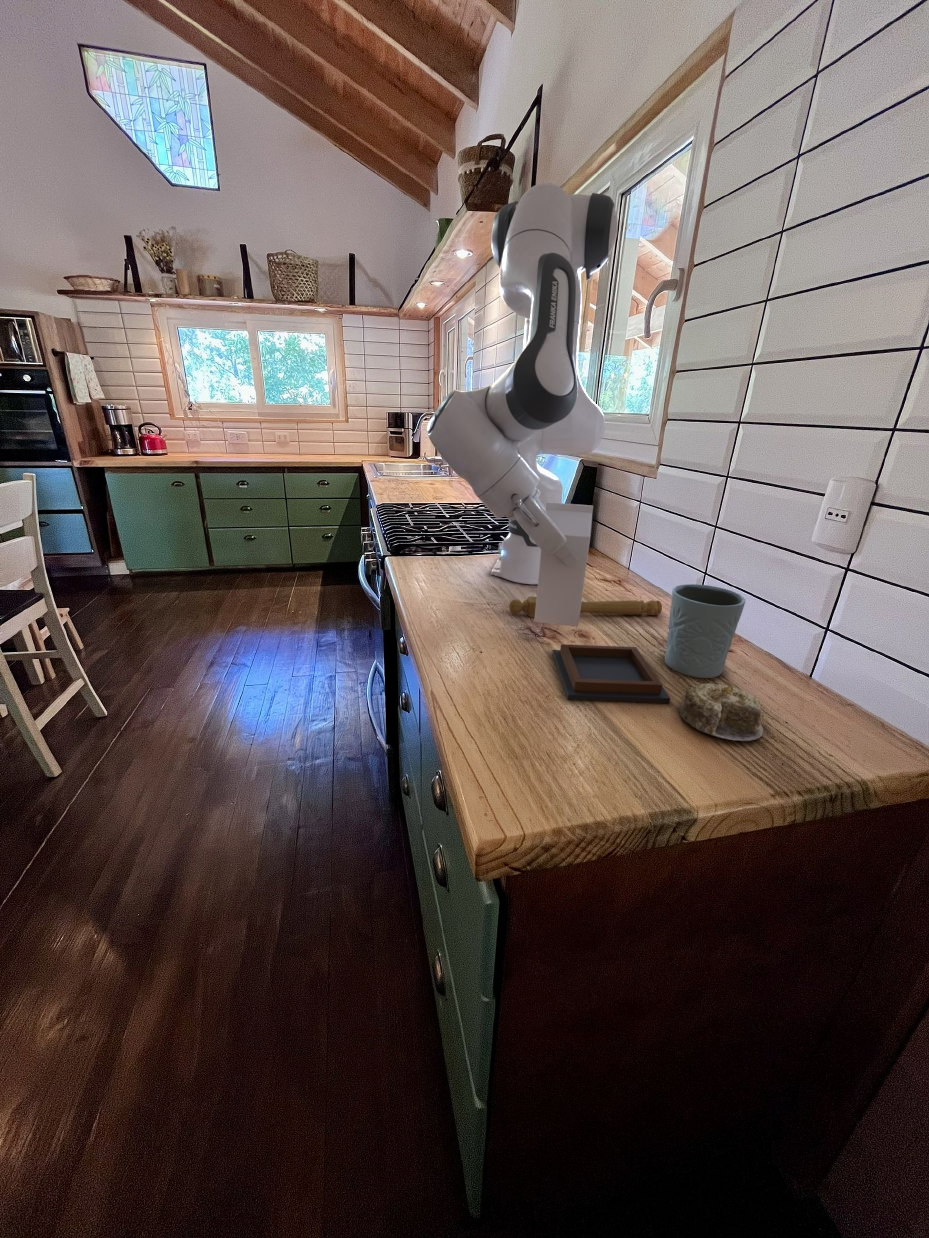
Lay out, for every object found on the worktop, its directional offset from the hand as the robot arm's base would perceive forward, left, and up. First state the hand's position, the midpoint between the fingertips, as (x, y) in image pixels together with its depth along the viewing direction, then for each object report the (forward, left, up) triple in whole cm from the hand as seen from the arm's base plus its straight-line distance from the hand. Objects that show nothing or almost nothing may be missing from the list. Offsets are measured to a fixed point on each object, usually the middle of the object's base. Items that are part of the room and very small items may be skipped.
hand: (567, 554), depth 80 cm
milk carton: (0, -1, -11) cm, 11 cm away
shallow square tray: (+12, +5, -15) cm, 20 cm away
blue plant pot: (+7, +20, -16) cm, 27 cm away
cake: (+23, +17, -16) cm, 33 cm away
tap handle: (-13, +7, -16) cm, 21 cm away
